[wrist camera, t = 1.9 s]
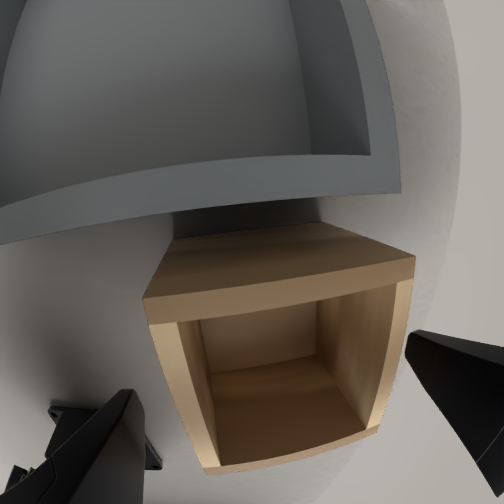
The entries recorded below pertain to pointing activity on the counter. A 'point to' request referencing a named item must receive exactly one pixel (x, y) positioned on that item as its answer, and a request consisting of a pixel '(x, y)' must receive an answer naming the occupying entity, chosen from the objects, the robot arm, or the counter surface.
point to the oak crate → (278, 339)
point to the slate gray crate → (186, 108)
